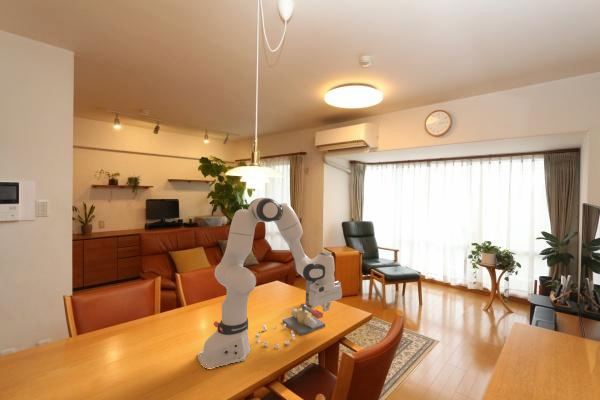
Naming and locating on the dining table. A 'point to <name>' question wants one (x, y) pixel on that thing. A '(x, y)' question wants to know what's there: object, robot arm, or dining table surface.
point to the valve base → (302, 327)
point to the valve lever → (312, 311)
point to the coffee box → (308, 290)
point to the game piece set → (276, 344)
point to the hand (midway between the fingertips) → (326, 310)
